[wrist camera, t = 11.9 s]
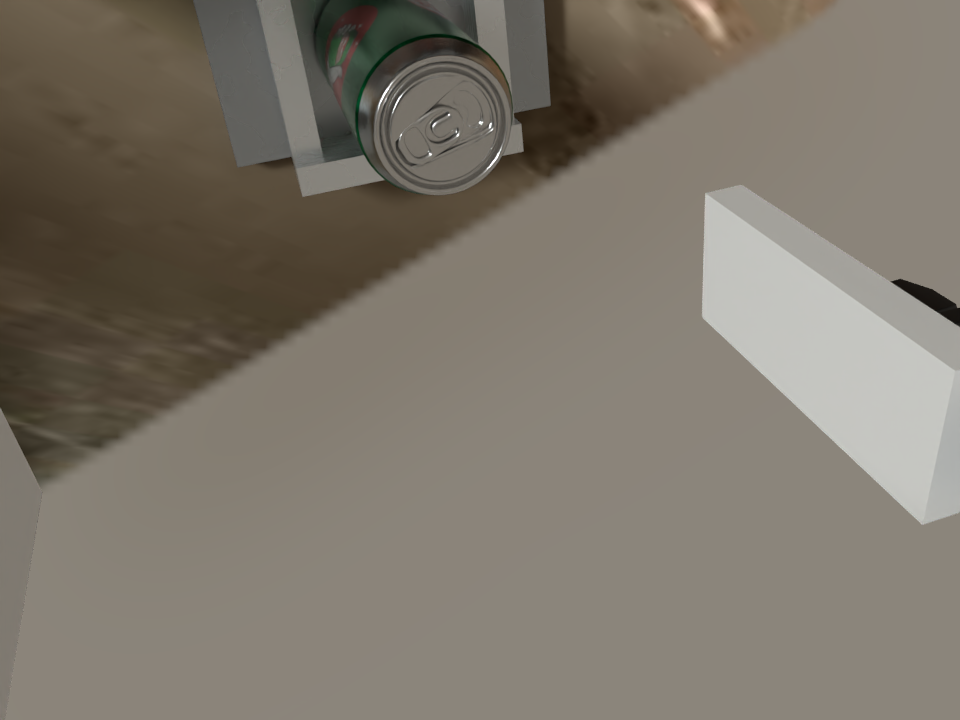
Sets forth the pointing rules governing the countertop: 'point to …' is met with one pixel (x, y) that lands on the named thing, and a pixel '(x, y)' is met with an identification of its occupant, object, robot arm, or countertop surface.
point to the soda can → (415, 93)
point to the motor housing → (308, 97)
